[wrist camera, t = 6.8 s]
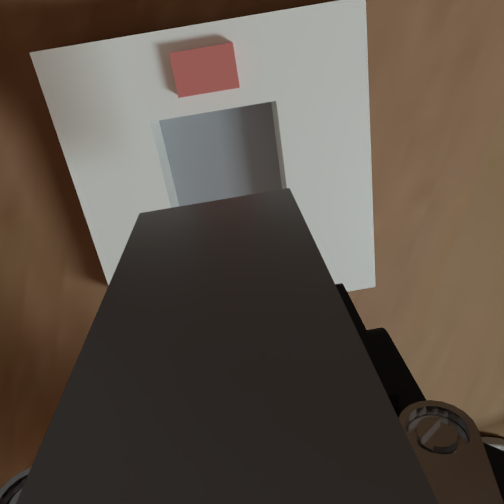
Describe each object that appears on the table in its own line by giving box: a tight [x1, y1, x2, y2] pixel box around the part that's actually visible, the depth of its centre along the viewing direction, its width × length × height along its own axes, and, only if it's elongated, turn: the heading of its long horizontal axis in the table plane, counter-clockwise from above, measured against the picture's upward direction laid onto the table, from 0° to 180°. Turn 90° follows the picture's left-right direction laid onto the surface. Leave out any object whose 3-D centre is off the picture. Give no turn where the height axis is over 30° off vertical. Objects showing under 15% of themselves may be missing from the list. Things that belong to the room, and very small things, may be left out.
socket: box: [30, 0, 375, 291], centre depth 26 cm, size 16×16×5 cm
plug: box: [16, 188, 439, 504], centre depth 11 cm, size 4×9×10 cm, turn 9°
